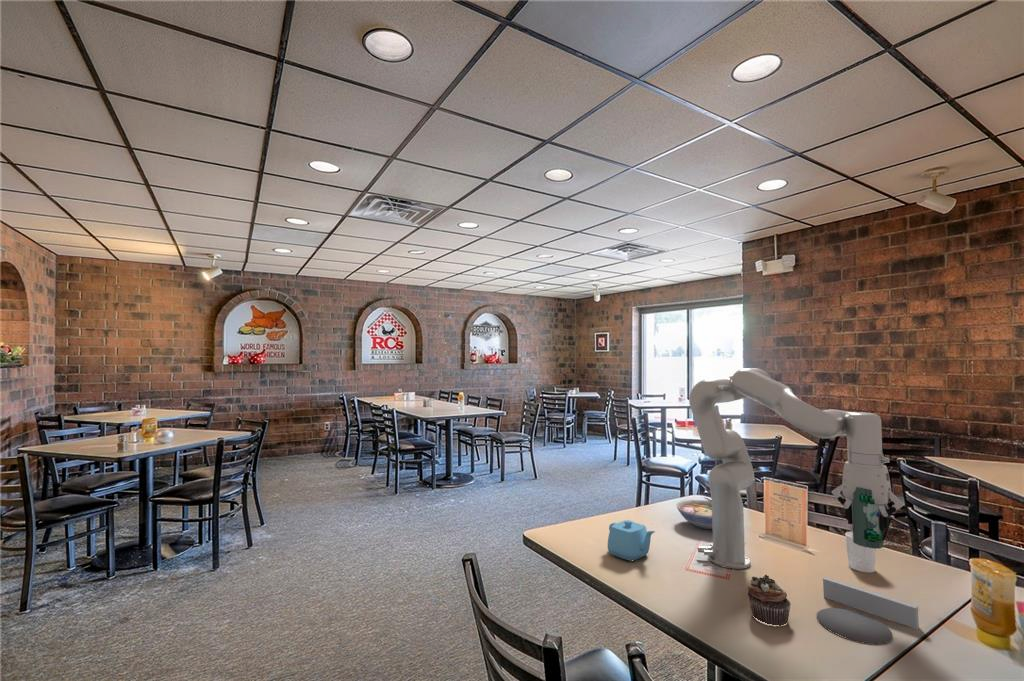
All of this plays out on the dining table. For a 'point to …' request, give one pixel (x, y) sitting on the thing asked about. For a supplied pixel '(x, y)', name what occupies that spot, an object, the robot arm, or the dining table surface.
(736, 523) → the robot arm
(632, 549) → the teapot
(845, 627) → the mat
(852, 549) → the white cup
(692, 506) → the ramen bowl
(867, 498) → the can
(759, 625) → the dining table surface
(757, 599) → the cupcake
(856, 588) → the panel
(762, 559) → the dining table surface
